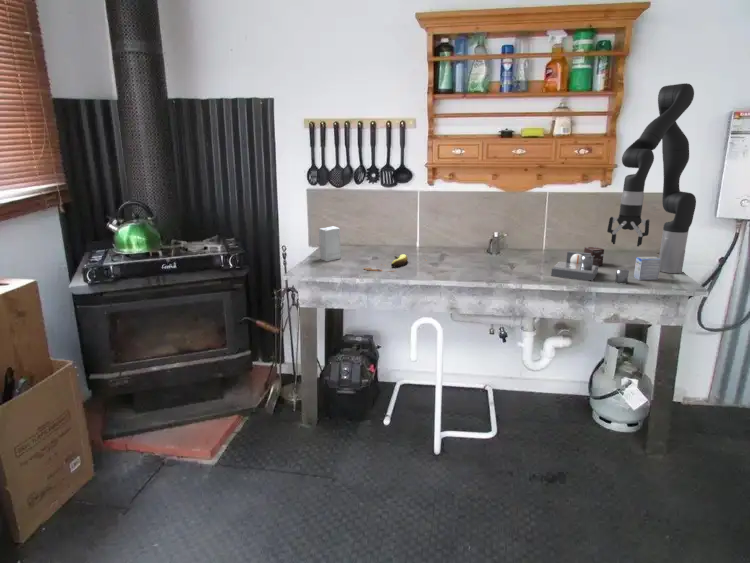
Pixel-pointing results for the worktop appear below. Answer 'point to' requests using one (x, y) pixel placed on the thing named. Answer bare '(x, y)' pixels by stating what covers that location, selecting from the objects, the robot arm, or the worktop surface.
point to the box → (595, 254)
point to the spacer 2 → (622, 275)
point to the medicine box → (647, 268)
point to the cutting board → (394, 263)
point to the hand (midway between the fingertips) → (625, 244)
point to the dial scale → (574, 268)
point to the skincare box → (329, 243)
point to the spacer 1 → (586, 262)
